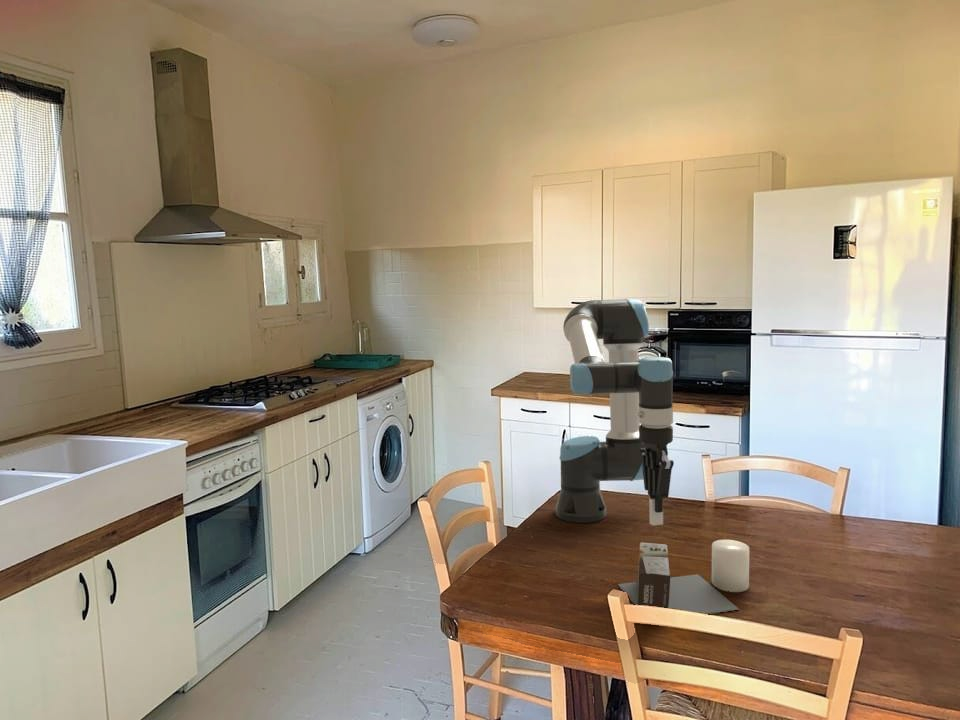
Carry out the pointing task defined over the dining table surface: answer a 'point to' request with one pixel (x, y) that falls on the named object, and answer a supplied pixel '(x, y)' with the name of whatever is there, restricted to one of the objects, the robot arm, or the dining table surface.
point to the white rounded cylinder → (730, 565)
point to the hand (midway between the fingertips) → (656, 523)
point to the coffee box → (653, 575)
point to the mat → (688, 595)
